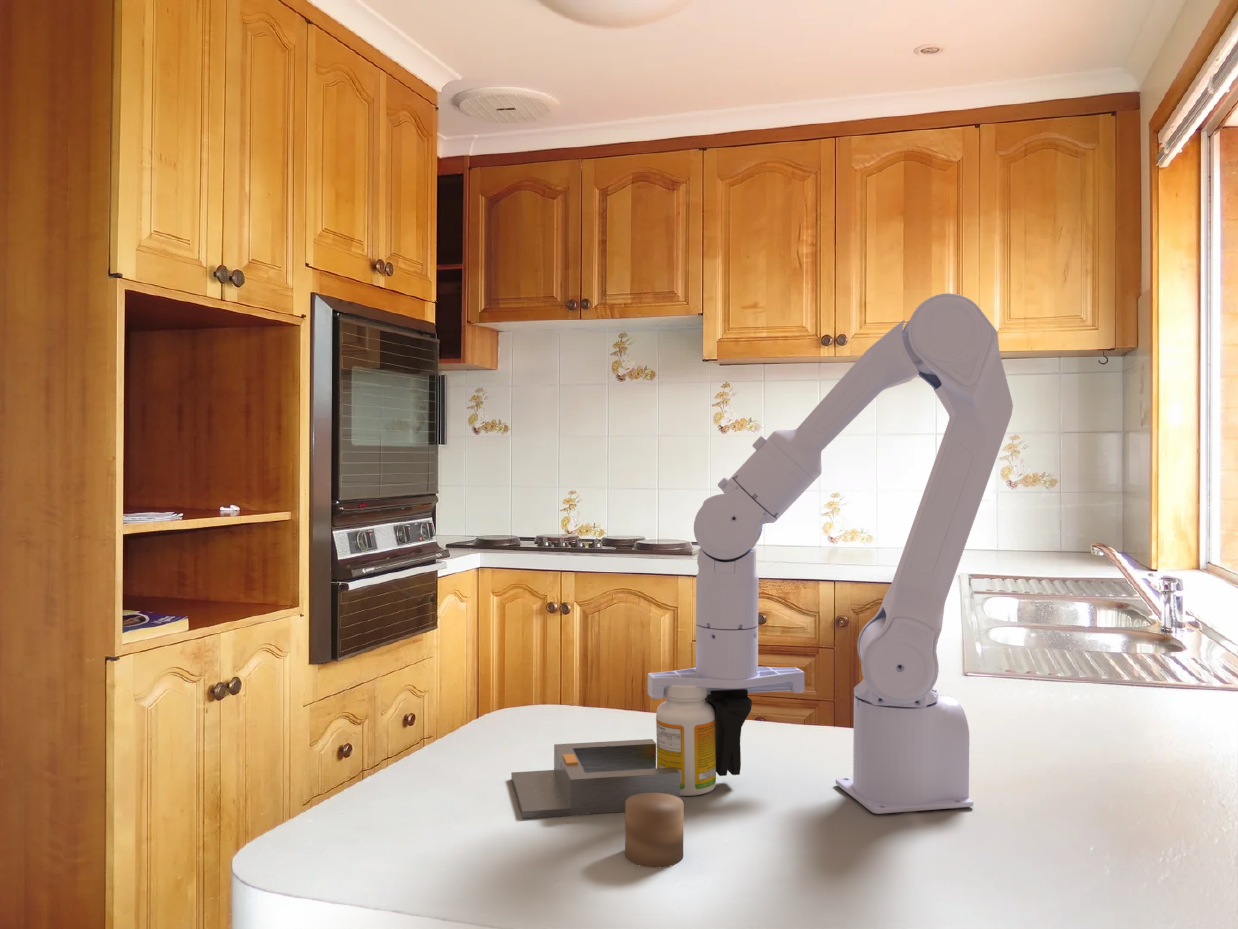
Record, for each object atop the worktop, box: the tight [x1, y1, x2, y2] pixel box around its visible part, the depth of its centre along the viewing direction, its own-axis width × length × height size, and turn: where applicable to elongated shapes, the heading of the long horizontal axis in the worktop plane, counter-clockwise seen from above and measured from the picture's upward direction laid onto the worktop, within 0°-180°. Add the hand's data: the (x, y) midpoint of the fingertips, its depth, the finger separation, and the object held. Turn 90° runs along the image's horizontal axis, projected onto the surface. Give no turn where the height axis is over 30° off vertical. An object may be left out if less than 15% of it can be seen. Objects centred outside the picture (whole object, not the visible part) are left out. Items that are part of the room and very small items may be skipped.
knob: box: [624, 793, 685, 869], centre depth 72 cm, size 4×4×4 cm
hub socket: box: [511, 738, 681, 819], centre depth 86 cm, size 14×10×3 cm
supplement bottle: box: [655, 685, 717, 797], centre depth 87 cm, size 5×5×10 cm
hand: (725, 772), depth 88 cm, fingers closed
